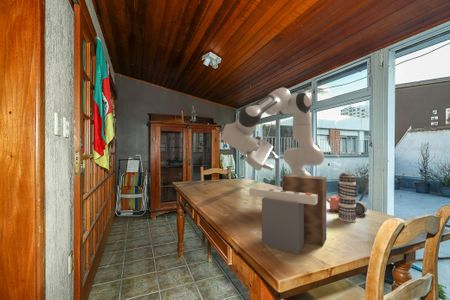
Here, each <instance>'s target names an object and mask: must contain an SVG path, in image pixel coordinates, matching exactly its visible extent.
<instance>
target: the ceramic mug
mask: <svg viewBox="0 0 450 300" xmlns="http://www.w3.org/2000/svg"><path fill="white" fill-rule="evenodd" d="M355 204H356V208H357V209H355V210H356V212H355V213H356V214H357V215H356V217H360V216H361V217H362V216H363V215H365V214H366V212H368V206H367V204H366V203H365V202H363V201H359V200H358V201H355Z"/></svg>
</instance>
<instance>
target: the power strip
mask: <svg viewBox="0 0 450 300" xmlns="http://www.w3.org/2000/svg"><path fill="white" fill-rule="evenodd" d="M248 195H249V196H250V197H254V198H255V197H256V198H257V197H258V198H261V199H262V198H269V199H276V200H283V201H290V202H297V203H304V204H311V205H316V204H317V203H318V195H317V194H313V193H300V192H291V191H283V190H282V189H272V188H264V187H262V188H261V187H255V186H253V187H250V188H249V194H248Z"/></svg>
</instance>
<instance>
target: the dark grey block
mask: <svg viewBox="0 0 450 300" xmlns="http://www.w3.org/2000/svg"><path fill="white" fill-rule="evenodd" d="M261 245H264V246H267V247H270V248H274V249H278V250H282V251H284V252H288V253H292V254H295V255H299V254H300V253H301V251H302V249H303V248H304V246H305V242H304V203H297V202H290V201H283V200H276V199H269V198H262V197H261Z"/></svg>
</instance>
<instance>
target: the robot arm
mask: <svg viewBox="0 0 450 300" xmlns="http://www.w3.org/2000/svg"><path fill="white" fill-rule="evenodd" d="M312 101H313V100H312V97H311V95H310V94H309V93H308V92H305V91H301V92H299V93H293V94H291V92H290V90H289V89H288V88H286V87H280V88H276V89H274V90H273V91H271V92H270V93H269V94H268V95H265V96H263V97H262V98H260V99H259V100H257V101H255V102H254V103H250V104H248V105H245V106H243V107H241V108H240V110H239V113H238V117H237V120H236V121H234V122H232V123H225V125H224V126H223V127H222V129H221V133H220V138H221V139H222V141H223V142H225V143H226V144H227V145H229V146H231V147H232V148H234V149H236V150H238V152H239V153H241V154H242V155H243V158H244V161H245V162H246V163H247V164H248V165H249V166H250V167H252V168H253V169H254V170H256V171H261V169H262V168H263V169H266V170H269V171H273V170H274V168H275V167H274V165H272V164H268V163H267V162H266V161H267V160H268V158H269V156H270V157H272V158H273V160H275V161H278V159H279V155H277V154H276V153H275V152H274V150H273V149H274V146H273V145H272V144H271V143H270V142H269V141H266V140H265V139H262V137H261V136H259V135H257V136H254V137H251V136H252V135H253V133H254V131H255V129H256V128H257V125H258V123H259V122H260V120H261V118H262V115H263V114H264V113H265V114H267V115H270V116H274V115H276V114H279V115H281V116H283V115H284V116H286V115H292V116H293V117H292V138H293V140H294V141H296V142H297V143H298V144H299V147H291V148H288V149H285V150H284V153H283V156H282V157H283V160H284V162H285V163H286V164H287V165H288V167H289V168H290V171H291V173H292V174H291V175H303V176H312V174H311V173H310V172H309V171H307V170H306V167H305V166H308V167H314V166H320V165H321V164H323V162H324V159H325V154H324V152H323V150H322V149H320V148H319V147H318V146H317V145H316V143H315V141H314V139H313V129H312V125H313V124H312V116H311V111H310V109H311V106H312Z"/></svg>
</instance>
